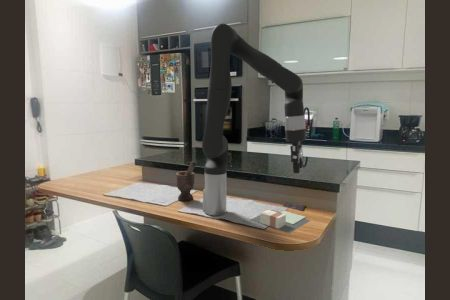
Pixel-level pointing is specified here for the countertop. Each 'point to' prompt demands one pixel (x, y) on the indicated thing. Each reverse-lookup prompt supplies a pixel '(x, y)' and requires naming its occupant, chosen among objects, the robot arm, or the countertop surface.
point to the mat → (287, 221)
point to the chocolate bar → (294, 206)
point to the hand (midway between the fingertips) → (298, 170)
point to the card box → (273, 219)
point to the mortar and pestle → (186, 182)
